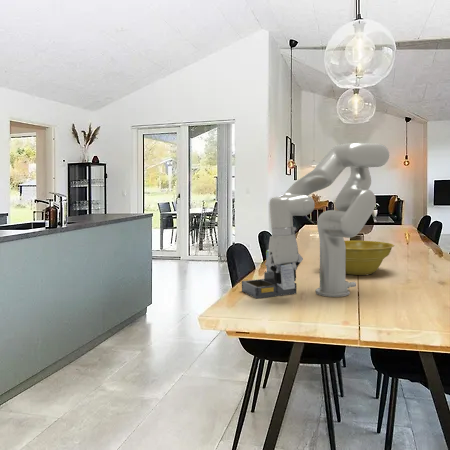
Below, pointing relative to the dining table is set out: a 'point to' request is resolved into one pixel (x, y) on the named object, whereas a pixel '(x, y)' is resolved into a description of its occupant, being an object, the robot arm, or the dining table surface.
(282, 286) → the medicine box
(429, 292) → the dining table surface
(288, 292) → the rack
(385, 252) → the planter bowl
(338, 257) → the robot arm
